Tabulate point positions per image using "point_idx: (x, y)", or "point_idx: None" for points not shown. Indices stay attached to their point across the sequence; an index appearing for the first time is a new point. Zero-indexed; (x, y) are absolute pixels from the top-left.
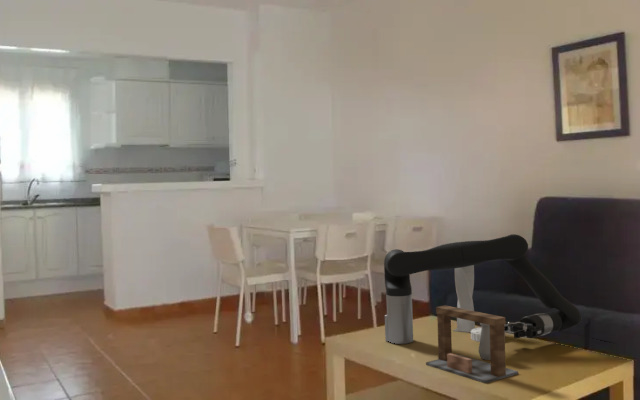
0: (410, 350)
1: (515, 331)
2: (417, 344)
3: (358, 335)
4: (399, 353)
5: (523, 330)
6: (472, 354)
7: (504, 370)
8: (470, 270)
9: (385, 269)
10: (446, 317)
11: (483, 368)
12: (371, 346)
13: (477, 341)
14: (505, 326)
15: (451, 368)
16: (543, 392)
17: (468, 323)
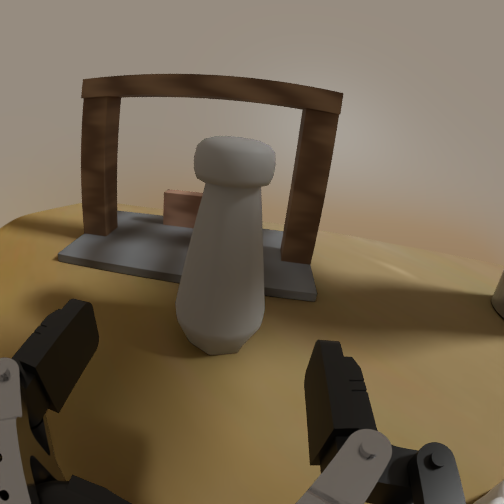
0: (435, 285)
1: (79, 303)
2: (488, 320)
3: None
4: (416, 265)
5: (16, 364)
6: (308, 344)
7: (85, 220)
8: None
9: None
10: (302, 120)
11: (152, 243)
12: (479, 271)
13: (491, 489)
14: (324, 470)
15: None
16: (13, 220)
17: None
